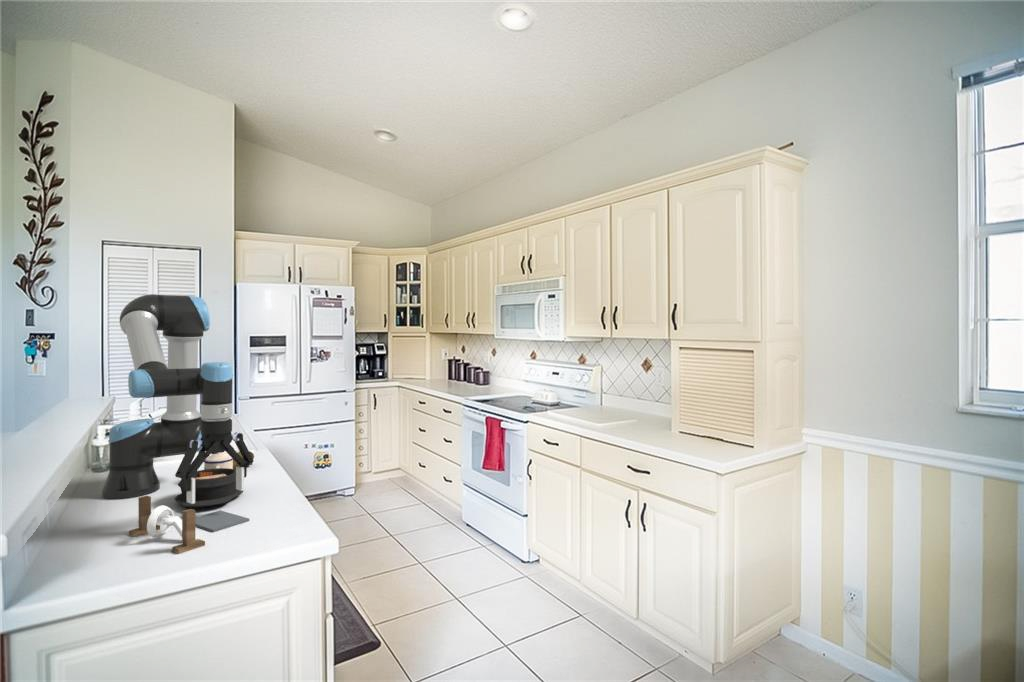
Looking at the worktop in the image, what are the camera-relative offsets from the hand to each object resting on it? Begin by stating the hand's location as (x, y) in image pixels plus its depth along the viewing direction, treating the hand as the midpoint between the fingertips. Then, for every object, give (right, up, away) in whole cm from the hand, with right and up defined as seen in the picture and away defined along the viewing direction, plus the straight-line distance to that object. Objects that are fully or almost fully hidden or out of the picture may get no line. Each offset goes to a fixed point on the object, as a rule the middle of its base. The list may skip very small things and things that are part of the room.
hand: (216, 496), depth 146 cm
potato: (-23, -7, +53) cm, 58 cm away
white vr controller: (-7, -8, -13) cm, 17 cm away
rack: (-5, -7, -13) cm, 16 cm away
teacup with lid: (-20, -7, +36) cm, 42 cm away
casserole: (-13, -7, +19) cm, 24 cm away
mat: (0, -7, 0) cm, 7 cm away
